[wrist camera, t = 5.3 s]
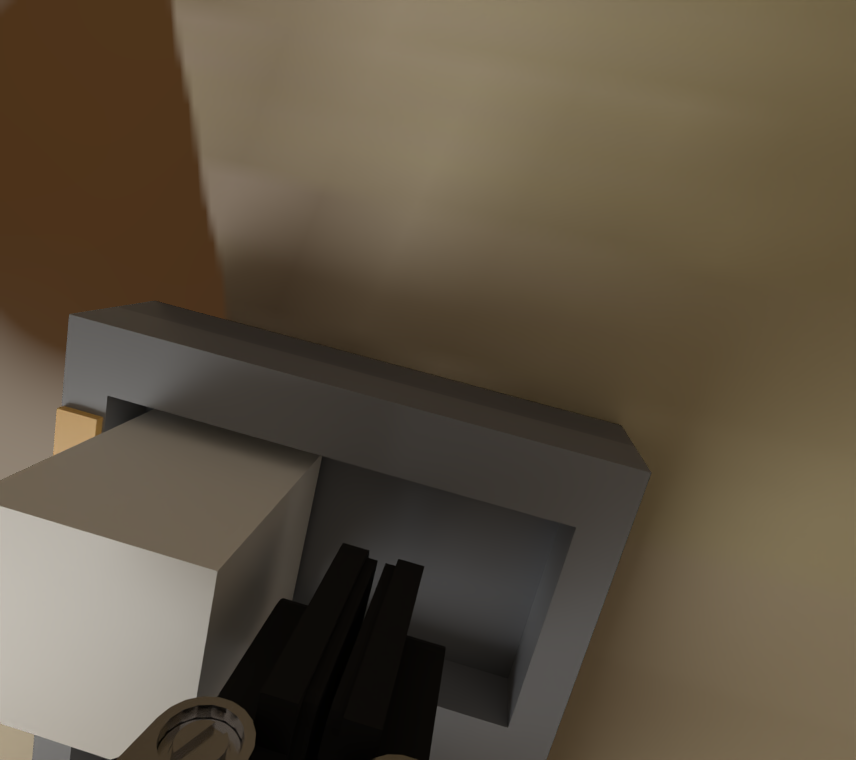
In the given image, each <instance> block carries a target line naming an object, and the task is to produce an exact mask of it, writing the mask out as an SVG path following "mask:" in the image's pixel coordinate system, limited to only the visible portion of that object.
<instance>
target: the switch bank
mask: <svg viewBox="0 0 856 760" xmlns="http://www.w3.org/2000/svg"><path fill="white" fill-rule="evenodd" d="M66 349H67V350H66V361H65V373H64V385H63V397H62V407H59V408H57V415H56V426H55V438H54V451H53V456H54V455H56V454H58V453H60V452H62V451H65V450H67V449H69V448H71V447H73V446H75V445H78V444H80V443H82V442H84V441H86V440H88V439H90V438H93V437H95V436H97V435H99V434H101V433H103V432H106V431H108V430H110V429H112V428H114V427H116V426H119V425H121V424H123V423H125V422H127V421H129V420H131V419H134V418H136V417H138V416H140V415H142V414H144V413H147V412H149V411H151V410H153V409H157V410H161V411H164V412H168V413H171V414H175V415H178V416H182V417H185V418H189V419H192V420H196V421H200V422H203V423H207V424H210V425H214V426H217V427H221V428H224V429H228V430H232V431H235V432H239V433H242V434H246V435H249V436H253V437H256V438H260V439H263V440H267V441H271V442H274V443H278V444H281V445H285V446H288V447H292V448H295V449H299V450H303V451H306V452H310V453H313V454H317V455H320V456H322V460H321V464H320V469H319V474H318V479H317V484H316V489H315V493H314V498H313V503H312V508H311V513H310V517H309V522H308V527H307V532H306V537H305V541H304V546H303V551H302V556H301V561H300V566H299V570H298V575H297V580H296V585H295V590H294V594H293V599H292V601H295V602H298V603H301V604H305V605H309V603H310V601H311V599H312V597H313V596H314V594H315V592H316V590H317V588H318V586H319V585H320V583H321V581H322V579H323V577H324V576H325V574H326V572H327V570H328V568H329V567H330V565H331V563H332V561H333V559H334V557H335V556H336V554H337V552H338V550H339V548H340V547H341V545H342V543H346V544H350V545H353V546H357V547H360V548H363V549H367V550H369V551H370V552H369V558H371V559H374V560H377V561H378V562H377V567H376V571H375V576H374V580H373V584H372V588H371V592H370V596H369V600H368V604H367V608H366V612H365V616H366V613H367V610H368V608H369V605H370V603H371V600H372V597H373V595H374V592H375V589H376V587H377V584H378V582H379V579H380V576H381V574H382V571H383V568H384V566H385V563H388V564H391V565H395V566H396V563H397V561H398V559H401V560H405V561H408V562H412V563H415V564H419V565H422V566H424V570H423V574H422V578H421V582H420V586H419V590H418V594H417V598H416V602H415V605H414V609H413V613H412V617H411V621H410V625H409V629H408V633H407V635H408V636H412V637H415V638H418V639H422V640H425V641H428V642H432V643H435V644H438V645H442V646H445V648H446V650H445V658H444V664H443V671H442V678H441V684H440V691H439V697H438V704H437V711H436V717H435V724H434V731H433V737H432V744H431V751H430V757H429V760H546V759H547V757H548V754H549V751H550V749H551V746H552V743H553V740H554V738H555V735H556V732H557V729H558V727H559V724H560V721H561V719H562V716H563V713H564V710H565V708H566V705H567V702H568V699H569V697H570V694H571V691H572V688H573V686H574V683H575V680H576V678H577V675H578V672H579V669H580V667H581V664H582V661H583V658H584V656H585V653H586V650H587V648H588V645H589V642H590V639H591V637H592V634H593V631H594V628H595V626H596V623H597V620H598V617H599V615H600V612H601V609H602V607H603V604H604V601H605V598H606V596H607V593H608V590H609V587H610V585H611V582H612V579H613V577H614V574H615V571H616V568H617V566H618V563H619V560H620V557H621V555H622V552H623V549H624V546H625V544H626V541H627V538H628V536H629V533H630V530H631V527H632V525H633V522H634V519H635V516H636V514H637V511H638V508H639V505H640V503H641V500H642V497H643V495H644V492H645V489H646V486H647V484H648V481H649V478H650V475H651V471H650V470H649V468H648V467H647V465H646V463H645V462H644V460H643V459H642V457H641V456H640V454H639V452H638V451H637V449H636V448H635V446H634V445H633V443H632V441H631V440H630V438H629V437H628V435H627V434H626V432H625V430H624V429H623V427H622V426H621V425H618V424H614V423H610V422H606V421H603V420H599V419H595V418H591V417H588V416H584V415H580V414H577V413H573V412H569V411H565V410H562V409H558V408H554V407H550V406H547V405H543V404H539V403H535V402H532V401H528V400H524V399H520V398H517V397H513V396H509V395H505V394H502V393H498V392H494V391H491V390H487V389H483V388H479V387H476V386H472V385H468V384H464V383H461V382H457V381H453V380H449V379H446V378H442V377H438V376H434V375H431V374H427V373H423V372H419V371H416V370H412V369H408V368H405V367H401V366H397V365H393V364H390V363H386V362H382V361H378V360H375V359H371V358H367V357H363V356H360V355H356V354H352V353H348V352H345V351H341V350H337V349H333V348H330V347H326V346H322V345H319V344H315V343H311V342H307V341H304V340H300V339H296V338H292V337H289V336H285V335H281V334H277V333H274V332H270V331H266V330H262V329H259V328H255V327H251V326H248V325H244V324H240V323H236V322H233V321H229V320H225V319H221V318H217V317H214V316H210V315H206V314H203V313H199V312H195V311H191V310H187V309H184V308H180V307H176V306H172V305H169V304H165V303H162V302H158V301H151V302H145V303H138V304H132V305H125V306H119V307H112V308H106V309H100V310H93V311H87V312H81V313H74V314H70V315H69V324H68V337H67V348H66ZM365 616H364V618H365ZM363 621H364V620H363ZM32 760H110V759H107V758H104V757H101V756H98V755H94V754H91V753H88V752H85V751H82V750H79V749H76V748H73V747H70V746H67V745H64V744H61V743H58V742H55V741H52V740H49V739H46V738H43V737H40V736H37V735H34V746H33V758H32Z"/></svg>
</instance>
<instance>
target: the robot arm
mask: <svg viewBox="0 0 856 760" xmlns="http://www.w3.org/2000/svg"><path fill="white" fill-rule="evenodd" d="M369 552H370V551H369V550H367V549H363V548H360V547H357V546H353V545H350V544H346V543H342V545H341V547H340V548H339V550H338V552H337V554H336V556H335V557H334V559H333V561H332V563H331V565H330V567H329V568H328V570H327V572H326V574H325V576H324V577H323V579H322V581H321V583H320V585H319V586H318V588H317V590H316V592H315V594H314V596H313V597H312V599H311V601H310V603H309V605H305V604H301V603H298V602H295V601H291V600H288V599H285V598H282V599H280V600H279V602H278V603H277V604H276V606H275V607H274V609H273V610H272V612H271V614H270V615H269V617H268V618H267V620H266V621H265V623H264V624H263V626H262V628H261V629H260V631H259V632H258V634H257V635H256V637H255V638H254V640H253V642H252V643H251V645H250V646H249V648H248V649H247V651H246V653H245V654H244V656H243V657H242V659H241V660H240V662H239V663H238V665H237V667H236V668H235V670H234V671H233V673H232V674H231V676H230V677H229V679H228V681H227V682H226V684H225V685H224V687H223V688H222V690H221V691H220V693H219V695H218V696H217V697H206V696H202V697H197V698H192V699H187V700H184V701H182V702H180V703H178V704H175V705H173V706H171V707H170V708H168V709H167V710H166V711H165V712H163V713H162V714H161V715H160V716H158V717H157V718H156V719H155V720H154V721H153V722H152V723H151V724H150V725H149V726H148V727H147V729H146V730H145V731H144V732H143V733H142V734H141V735H140V736H139V737H138V738H137V739H136V740H135V741H134V742H133V743H132V744H131V745H130V746H129V747H128V748H127V749H126V750H125V751H124V752H123V753H122V754H121V755H120V756H119V757H117V758H114V759H111V760H429V757H430V751H431V744H432V737H433V731H434V724H435V717H436V711H437V704H438V697H439V691H440V684H441V678H442V671H443V664H444V658H445V650H446V648H445V646H442V645H438V644H435V643H432V642H428V641H425V640H422V639H418V638H415V637H412V636H408V635H407V633H408V629H409V625H410V621H411V617H412V613H413V609H414V605H415V602H416V598H417V594H418V590H419V586H420V582H421V578H422V574H423V570H424V566H422V565H419V564H415V563H412V562H408V561H405V560H401V559H398V561H397V563H396V566H395V565H391V564H388V563H385V566H384V568H383V571H382V574H381V576H380V579H379V582H378V584H377V587H376V589H375V592H374V595H373V597H372V600H371V603H370V605H369V608H368V610H367V613H366V616H365V612H366V608H367V604H368V600H369V596H370V592H371V588H372V584H373V580H374V576H375V571H376V567H377V562H378V561H377V560H374V559H371V558H369ZM364 616H365V618H364ZM363 620H364V621H363Z"/></svg>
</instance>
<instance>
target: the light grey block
mask: <svg viewBox="0 0 856 760" xmlns="http://www.w3.org/2000/svg"><path fill="white" fill-rule="evenodd" d="M321 460H322V456H320V455H317V454H313V453H310V452H306V451H303V450H299V449H295V448H292V447H288V446H285V445H281V444H278V443H274V442H271V441H267V440H263V439H260V438H256V437H253V436H249V435H246V434H242V433H239V432H235V431H232V430H228V429H224V428H221V427H217V426H214V425H210V424H207V423H203V422H200V421H196V420H192V419H189V418H185V417H182V416H178V415H175V414H171V413H168V412H164V411H161V410H157V409H153V410H151V411H149V412H147V413H144V414H142V415H140V416H138V417H136V418H134V419H131V420H129V421H127V422H125V423H123V424H121V425H119V426H116V427H114V428H112V429H110V430H108V431H106V432H103V433H101V434H99V435H97V436H95V437H93V438H90V439H88V440H86V441H84V442H82V443H80V444H78V445H75V446H73V447H71V448H69V449H67V450H65V451H62V452H60V453H58V454H56V455H54V456H52V457H50V458H48V459H45V460H43V461H41V462H39V463H37V464H35V465H32V466H30V467H28V468H26V469H24V470H22V471H19V472H17V473H15V474H13V475H11V476H9V477H7V478H4V479H2V480H0V724H3V725H6V726H9V727H13V728H16V729H19V730H22V731H25V732H28V733H31V734H34V735H37V736H40V737H43V738H46V739H49V740H52V741H55V742H58V743H61V744H64V745H67V746H70V747H73V748H76V749H79V750H82V751H85V752H88V753H91V754H94V755H98V756H101V757H104V758H107V759H110V760H111V759H114V758H117V757H119V756H120V755H121V754H122V753H123V752H124V751H125V750H126V749H127V748H128V747H129V746H130V745H131V744H132V743H133V742H134V741H135V740H136V739H137V738H138V737H139V736H140V735H141V734H142V733H143V732H144V731H145V730H146V729H147V727H148V726H149V725H150V724H151V723H152V722H153V721H154V720H155V719H156V718H157V717H158V716H160V715H161V714H162V713H163V712H165V711H166V710H167V709H168V708H170V707H171V706H173V705H175V704H178V703H180V702H182V701H184V700H187V699H192V698H197V697H202V696H206V697H217V696H218V695H219V693H220V691H221V690H222V688H223V687H224V685H225V684H226V682H227V681H228V679H229V677H230V676H231V674H232V673H233V671H234V670H235V668H236V667H237V665H238V663H239V662H240V660H241V659H242V657H243V656H244V654H245V653H246V651H247V649H248V648H249V646H250V645H251V643H252V642H253V640H254V638H255V637H256V635H257V634H258V632H259V631H260V629H261V628H262V626H263V624H264V623H265V621H266V620H267V618H268V617H269V615H270V614H271V612H272V610H273V609H274V607H275V606H276V604H277V603H278V602H279V600H280V599H282V598H285V599H288V600H291V601H292V599H293V594H294V590H295V585H296V580H297V575H298V570H299V566H300V561H301V556H302V551H303V546H304V541H305V537H306V532H307V527H308V522H309V517H310V513H311V508H312V503H313V498H314V493H315V489H316V484H317V479H318V474H319V469H320V464H321Z"/></svg>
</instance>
